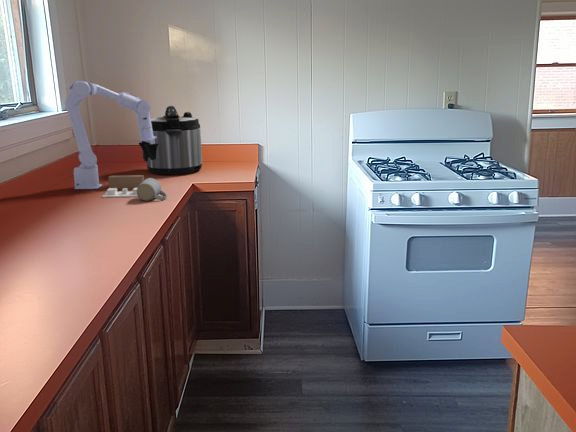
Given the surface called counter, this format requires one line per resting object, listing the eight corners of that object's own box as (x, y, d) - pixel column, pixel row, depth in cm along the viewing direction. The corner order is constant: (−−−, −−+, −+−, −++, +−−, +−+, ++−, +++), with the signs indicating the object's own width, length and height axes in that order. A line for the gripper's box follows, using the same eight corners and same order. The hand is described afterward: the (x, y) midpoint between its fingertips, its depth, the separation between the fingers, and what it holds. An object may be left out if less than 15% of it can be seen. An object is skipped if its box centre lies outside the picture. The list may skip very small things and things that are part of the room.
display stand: (102, 197, 213) (101, 191, 212) (107, 193, 221) (106, 187, 220) (143, 196, 214) (143, 190, 213) (147, 192, 222) (146, 186, 221)
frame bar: (109, 189, 228) (108, 177, 226) (111, 188, 231) (110, 175, 229) (143, 189, 229) (142, 176, 227) (144, 187, 232) (143, 175, 230)
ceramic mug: (136, 201, 206) (134, 181, 204) (142, 196, 214) (141, 177, 212) (163, 202, 206) (162, 182, 204) (169, 197, 214) (168, 178, 212)
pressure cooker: (166, 164, 288) (162, 103, 280) (213, 167, 278) (211, 104, 270) (131, 174, 261) (126, 107, 253) (183, 178, 251) (179, 108, 243)
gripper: (159, 127, 232) (164, 158, 236) (149, 125, 244) (154, 154, 248) (143, 130, 229) (148, 161, 233) (133, 127, 241) (139, 157, 245)
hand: (150, 158), depth 240 cm, fingers open, 7 cm apart
